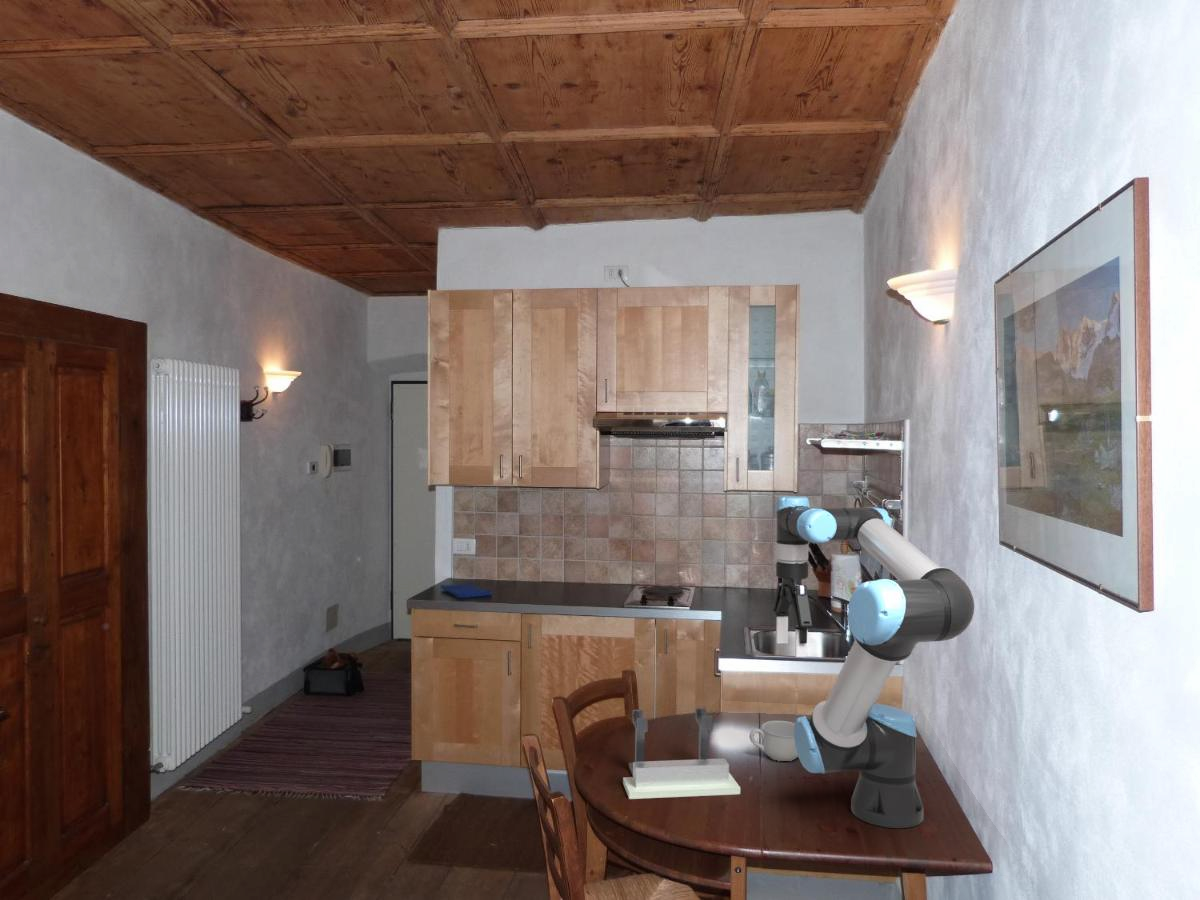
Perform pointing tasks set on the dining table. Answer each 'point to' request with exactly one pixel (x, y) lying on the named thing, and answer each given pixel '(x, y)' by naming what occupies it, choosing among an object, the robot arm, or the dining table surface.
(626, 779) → the board
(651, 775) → the rail bar
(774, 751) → the teacup
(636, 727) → the hook stand
